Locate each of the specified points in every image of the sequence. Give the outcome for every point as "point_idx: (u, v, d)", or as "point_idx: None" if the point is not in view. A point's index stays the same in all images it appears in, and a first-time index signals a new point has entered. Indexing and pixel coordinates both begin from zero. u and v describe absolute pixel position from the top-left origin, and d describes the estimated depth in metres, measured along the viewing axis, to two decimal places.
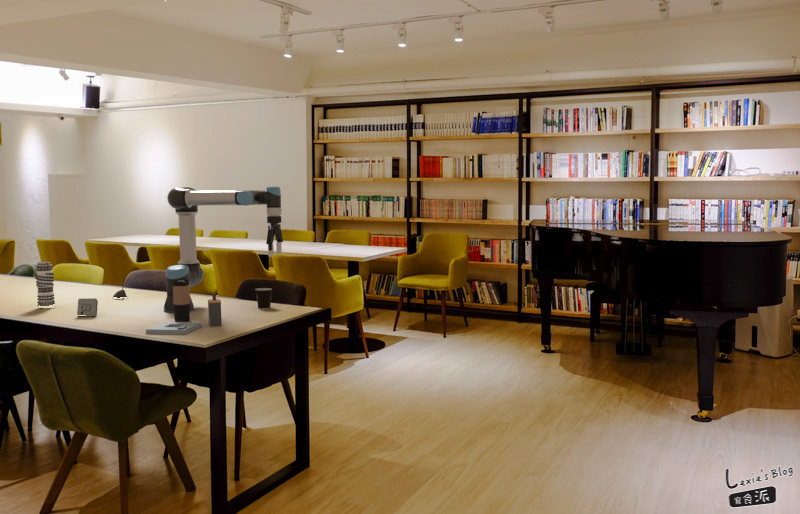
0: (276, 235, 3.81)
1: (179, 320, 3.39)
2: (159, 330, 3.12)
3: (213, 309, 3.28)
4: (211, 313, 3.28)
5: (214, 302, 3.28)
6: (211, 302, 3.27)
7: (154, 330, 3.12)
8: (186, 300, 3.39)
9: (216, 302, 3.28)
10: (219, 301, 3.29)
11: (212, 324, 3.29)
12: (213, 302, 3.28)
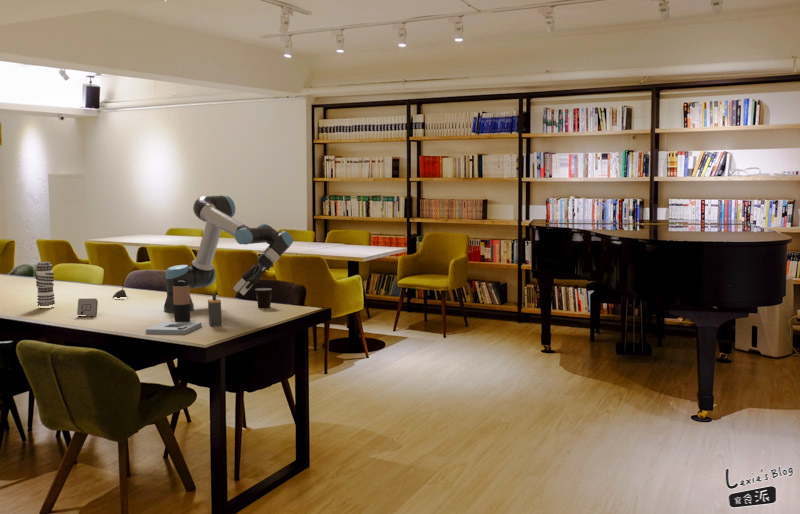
0: (250, 274, 3.41)
1: (179, 320, 3.39)
2: (159, 330, 3.12)
3: (213, 309, 3.28)
4: (211, 313, 3.28)
5: (214, 302, 3.28)
6: (211, 302, 3.27)
7: (154, 330, 3.12)
8: (186, 300, 3.39)
9: (216, 302, 3.28)
10: (219, 301, 3.29)
11: (212, 324, 3.29)
12: (213, 302, 3.28)
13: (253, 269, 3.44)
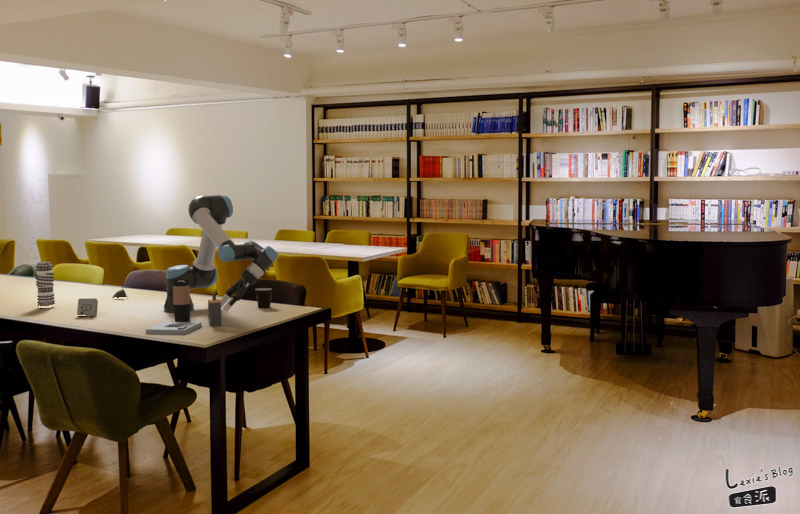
0: (234, 289, 3.37)
1: (179, 320, 3.39)
2: (159, 330, 3.12)
3: (213, 309, 3.28)
4: (211, 313, 3.28)
5: (214, 302, 3.28)
6: (211, 302, 3.27)
7: (154, 330, 3.12)
8: (186, 300, 3.39)
9: (216, 302, 3.28)
10: (219, 301, 3.29)
11: (212, 324, 3.29)
12: (213, 302, 3.28)
13: (237, 284, 3.40)
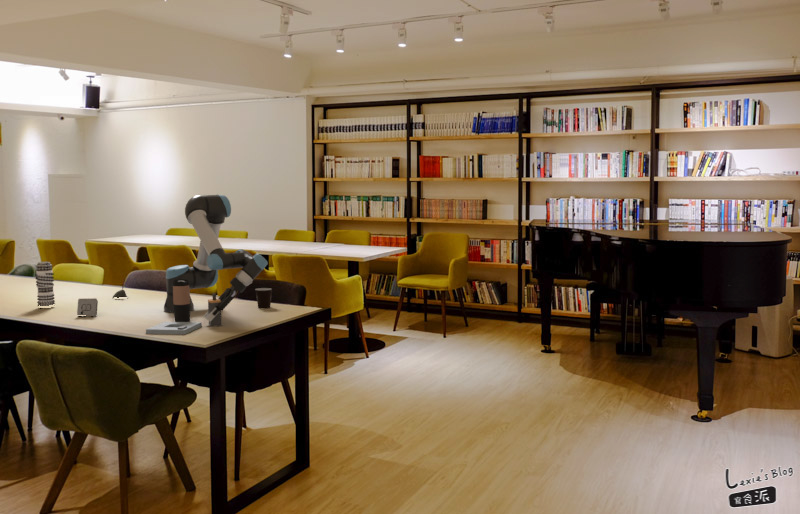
0: (222, 299, 3.34)
1: (179, 320, 3.39)
2: (159, 330, 3.12)
3: None
4: None
5: (214, 302, 3.28)
6: (211, 302, 3.27)
7: (154, 330, 3.12)
8: (186, 300, 3.39)
9: (216, 302, 3.28)
10: (219, 301, 3.29)
11: (212, 324, 3.29)
12: (213, 302, 3.28)
13: None
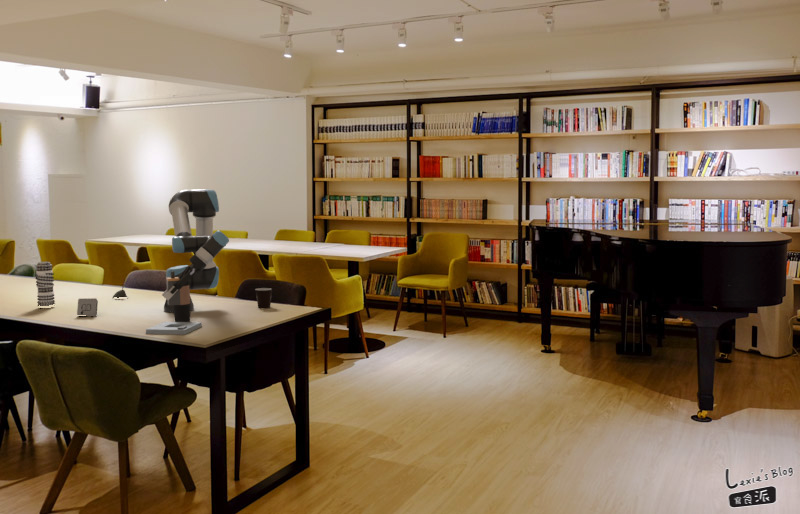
0: (181, 277, 3.22)
1: (179, 320, 3.39)
2: (159, 330, 3.12)
3: (171, 287, 3.16)
4: None
5: (172, 280, 3.16)
6: (169, 280, 3.16)
7: (154, 330, 3.12)
8: (186, 300, 3.39)
9: (174, 280, 3.17)
10: (177, 279, 3.17)
11: (170, 303, 3.17)
12: (171, 280, 3.16)
13: None
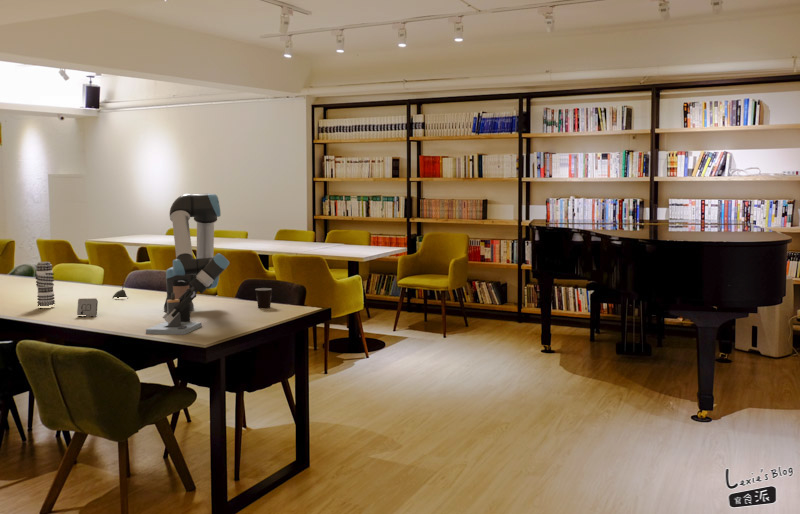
0: (182, 300, 3.23)
1: None
2: (159, 330, 3.12)
3: (172, 308, 3.18)
4: (169, 313, 3.17)
5: (172, 302, 3.18)
6: (169, 302, 3.17)
7: (154, 330, 3.12)
8: None
9: (175, 302, 3.18)
10: (178, 301, 3.19)
11: (171, 325, 3.17)
12: (171, 302, 3.18)
13: None
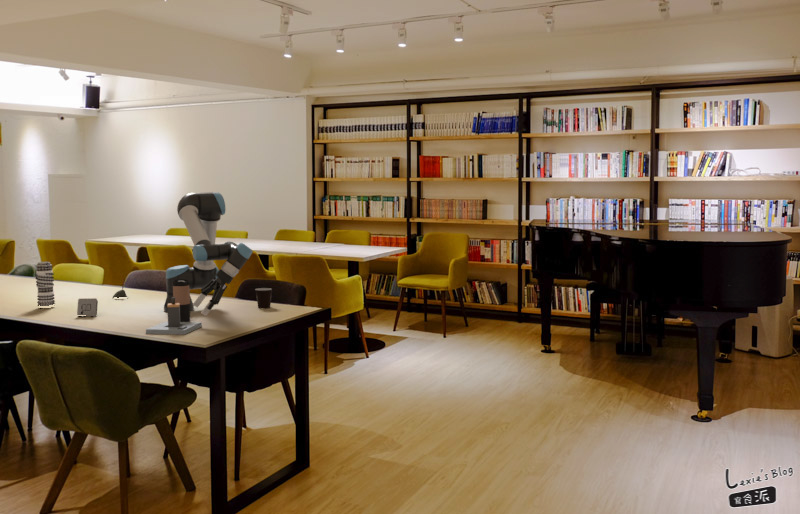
0: (209, 289, 3.31)
1: None
2: (159, 330, 3.12)
3: (171, 313, 3.17)
4: (169, 318, 3.17)
5: (172, 306, 3.17)
6: (169, 306, 3.17)
7: (154, 330, 3.12)
8: (186, 300, 3.39)
9: (174, 306, 3.17)
10: (177, 305, 3.18)
11: None
12: (171, 306, 3.17)
13: (212, 283, 3.33)
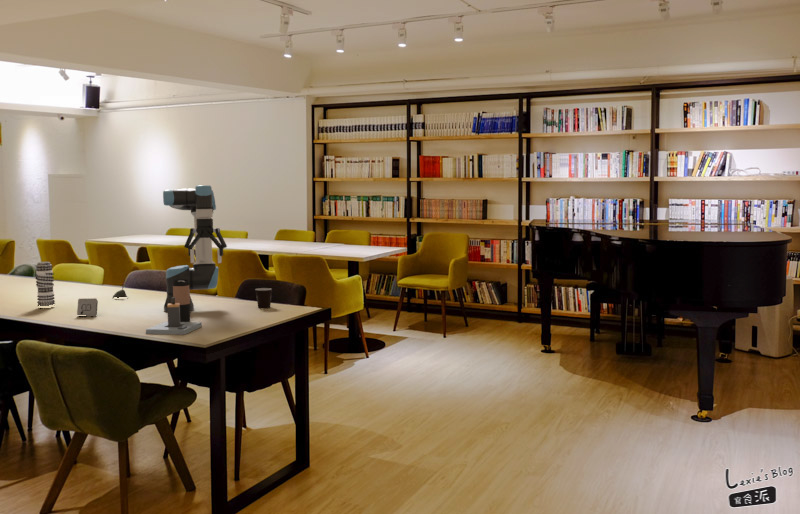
0: (196, 241, 3.35)
1: None
2: (159, 330, 3.12)
3: (171, 313, 3.17)
4: (169, 318, 3.17)
5: (172, 306, 3.17)
6: (169, 306, 3.17)
7: (154, 330, 3.12)
8: (186, 300, 3.39)
9: (174, 306, 3.17)
10: (177, 305, 3.17)
11: None
12: (171, 306, 3.17)
13: (192, 235, 3.35)
